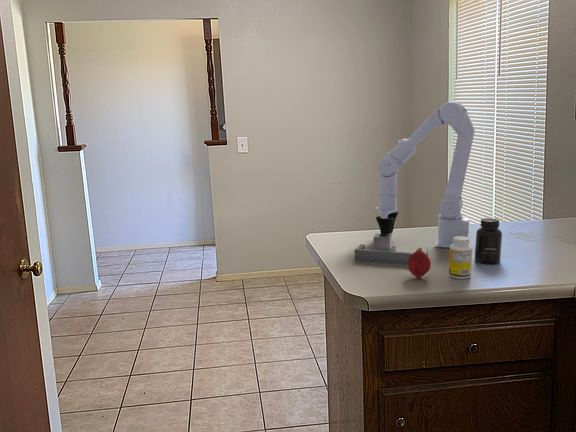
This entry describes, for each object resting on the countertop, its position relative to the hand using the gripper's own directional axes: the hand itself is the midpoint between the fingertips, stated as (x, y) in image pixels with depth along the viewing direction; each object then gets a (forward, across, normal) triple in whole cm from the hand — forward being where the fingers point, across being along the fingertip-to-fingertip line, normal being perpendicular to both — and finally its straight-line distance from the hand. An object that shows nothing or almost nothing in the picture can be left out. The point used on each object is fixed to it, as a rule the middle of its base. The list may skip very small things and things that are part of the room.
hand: (387, 236), depth 183 cm
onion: (+2, +37, +14) cm, 39 cm away
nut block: (+2, +9, 0) cm, 9 cm away
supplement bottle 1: (+2, +33, +24) cm, 41 cm away
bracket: (+2, +22, +5) cm, 23 cm away
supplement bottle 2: (+2, +17, +31) cm, 35 cm away
